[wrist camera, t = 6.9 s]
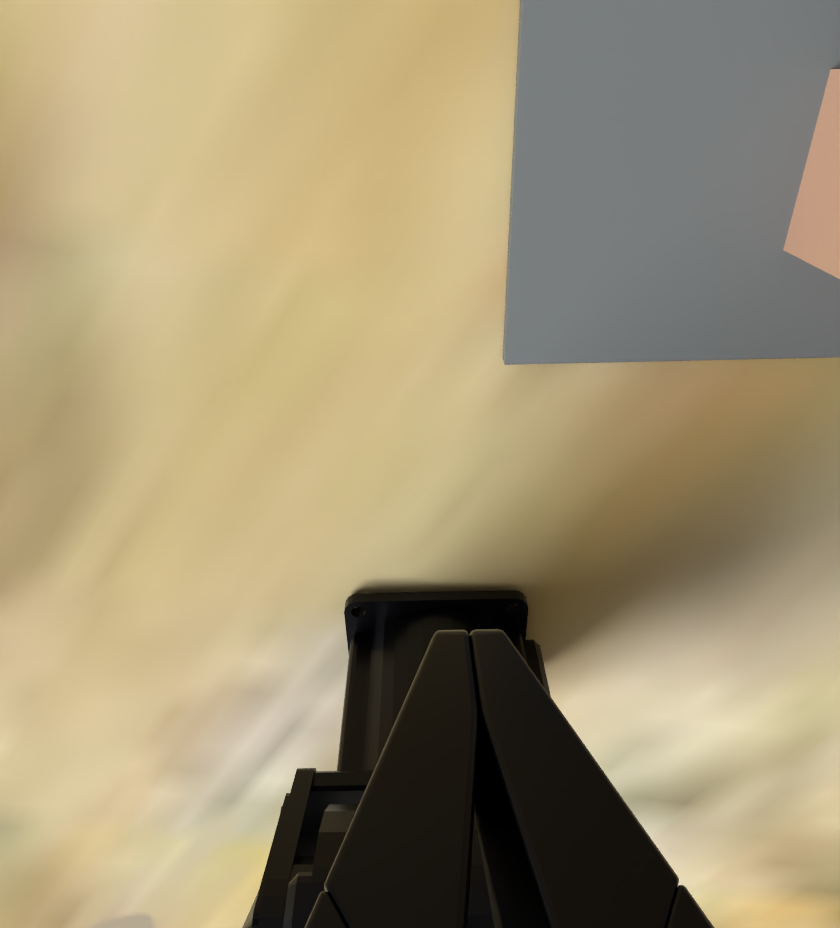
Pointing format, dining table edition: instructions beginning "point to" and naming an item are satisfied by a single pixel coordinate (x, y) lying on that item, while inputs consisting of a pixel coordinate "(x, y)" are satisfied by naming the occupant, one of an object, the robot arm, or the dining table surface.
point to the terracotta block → (820, 190)
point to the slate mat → (666, 181)
